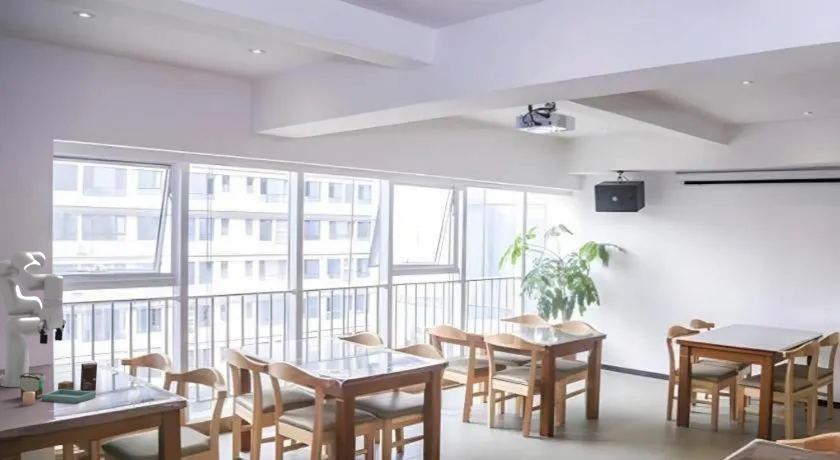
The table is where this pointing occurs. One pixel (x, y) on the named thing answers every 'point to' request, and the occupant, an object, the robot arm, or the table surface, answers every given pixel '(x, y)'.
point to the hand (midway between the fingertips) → (51, 341)
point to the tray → (68, 396)
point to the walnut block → (66, 385)
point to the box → (88, 376)
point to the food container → (32, 383)
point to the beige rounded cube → (28, 398)
